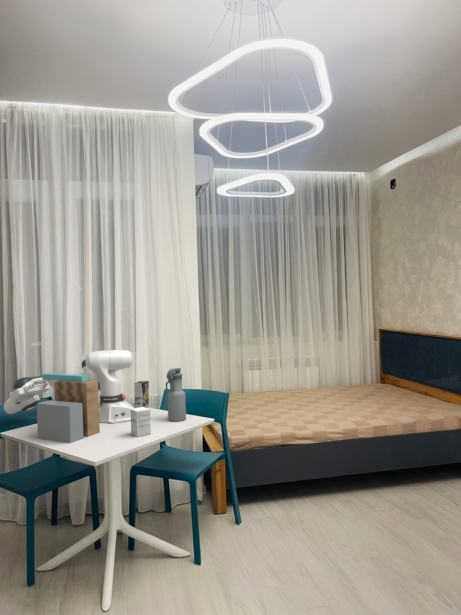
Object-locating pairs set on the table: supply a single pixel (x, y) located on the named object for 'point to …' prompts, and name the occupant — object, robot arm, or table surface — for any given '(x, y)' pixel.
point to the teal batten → (65, 377)
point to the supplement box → (140, 422)
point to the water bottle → (175, 396)
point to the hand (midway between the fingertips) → (39, 384)
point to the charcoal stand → (60, 421)
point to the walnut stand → (82, 401)
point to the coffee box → (141, 394)
